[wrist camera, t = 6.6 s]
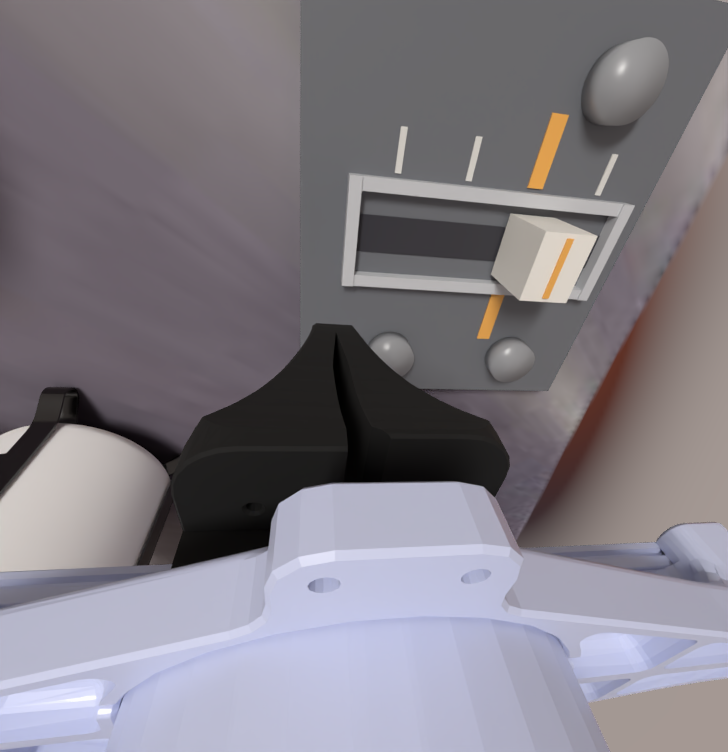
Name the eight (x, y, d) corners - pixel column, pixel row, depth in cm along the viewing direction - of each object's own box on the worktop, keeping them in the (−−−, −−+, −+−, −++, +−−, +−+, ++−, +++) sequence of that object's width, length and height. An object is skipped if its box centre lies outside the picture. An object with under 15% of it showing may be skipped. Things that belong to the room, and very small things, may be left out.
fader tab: (531, 277, 20) (567, 303, 17) (490, 274, 20) (520, 301, 17) (555, 217, 18) (598, 236, 15) (510, 213, 18) (547, 232, 15)
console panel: (537, 378, 27) (556, 401, 25) (301, 373, 25) (299, 398, 22) (715, 15, 16) (779, -1, 13) (302, -71, 13) (299, -108, 11)
